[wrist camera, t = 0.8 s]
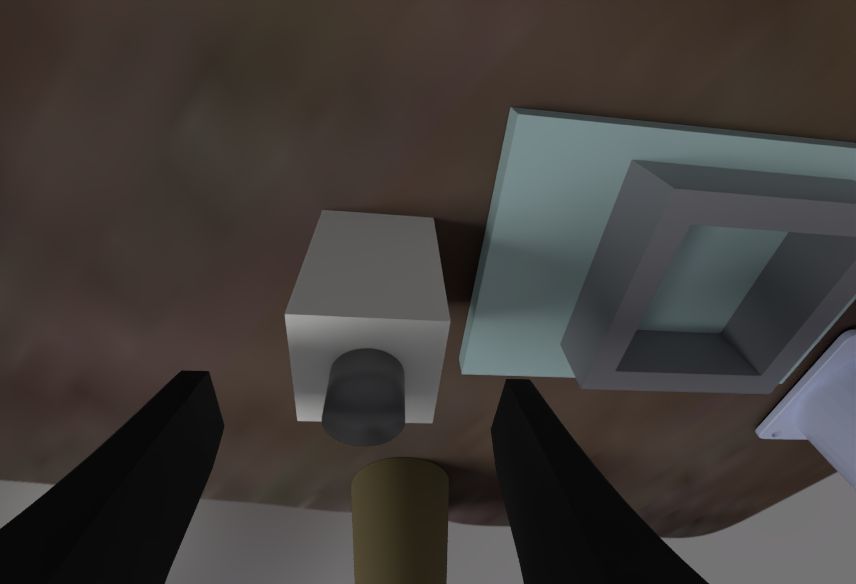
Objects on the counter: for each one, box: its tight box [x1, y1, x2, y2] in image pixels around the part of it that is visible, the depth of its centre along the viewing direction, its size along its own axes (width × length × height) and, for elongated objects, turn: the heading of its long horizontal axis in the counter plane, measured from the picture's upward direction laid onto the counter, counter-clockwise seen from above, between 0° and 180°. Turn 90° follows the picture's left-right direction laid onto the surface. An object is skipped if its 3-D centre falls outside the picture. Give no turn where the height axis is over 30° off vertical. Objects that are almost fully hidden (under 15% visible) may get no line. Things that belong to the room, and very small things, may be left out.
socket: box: [459, 107, 856, 394], centre depth 16 cm, size 16×11×4 cm
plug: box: [285, 210, 450, 446], centre depth 13 cm, size 4×4×8 cm
